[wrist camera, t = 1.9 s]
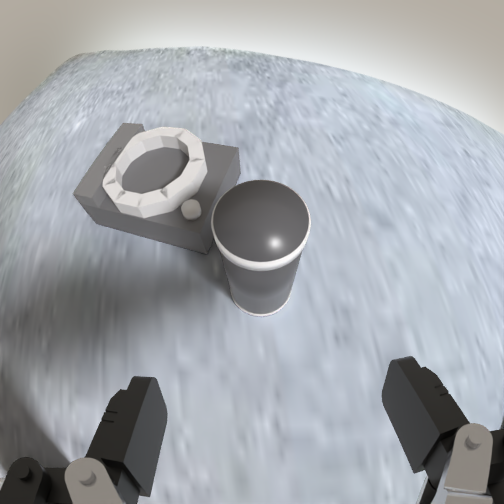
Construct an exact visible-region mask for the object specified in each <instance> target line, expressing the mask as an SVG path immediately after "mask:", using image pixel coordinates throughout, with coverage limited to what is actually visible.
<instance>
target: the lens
mask: <svg viewBox="0 0 504 504" xmlns="http://www.w3.org/2000/svg"><path fill="white" fill-rule="evenodd" d="M211 225H212V231H213V235H214V238H215V242H216V244H217V246H218V248H219V250H220V253H221V257H222V260H223V264H224V268H225V271H226V275H227V279H228V282H229V286H230V292H231V295H232V298H233V301H234V302H235V304H236V305H237V306H238V308H240V309H241V310H242V311H243V312H245V313H247V314H249V315H252V316H256V317H265V316H270V315H273V314H275V313H277V312H278V311H280V310H281V309H282V308H283V307H284V306H285V305H286V303H287V302H288V300H289V297H290V294H291V290H292V285H293V282H294V278H295V275H296V271H297V268H298V264H299V260H300V257H301V253H302V250H303V249H304V247H305V245H306V242H307V239H308V235H309V232H310V226H311V218H310V213H309V210H308V207H307V205H306V203H305V202H304V200H303V199H302V198H301V196H300V195H299V194H298V193H296V192H295V191H294V190H293V189H291V188H290V187H288V186H286V185H284V184H281V183H278V182H275V181H270V180H252V181H247V182H244V183H241V184H238V185H236V186H234V187H232V188H231V189H229V190H228V191H227V192H226V193H224V194H223V195H222V196H221V198H220V199H219V200H218V202H217V203H216V205H215V207H214V210H213V213H212V218H211Z"/></svg>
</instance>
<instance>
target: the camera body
mask: <svg viewBox="0 0 504 504" xmlns="http://www.w3.org/2000/svg"><path fill="white" fill-rule="evenodd" d="M240 174H241V172H240V160H239V148H237V147H231V146H225V145H219V144H213V143H206V142H202V141H201V140H200V139H199V138H197V137H196V136H195V135H193V134H192V133H191V132H189V131H188V130H186V129H182V128H172V127H159V128H156V129H152V130H148V131H145V130H144V127H143V125H142V124H132V123H123V124H122V125H121V126H120V128H119V129H118V130H117V131H116V133H115V134H114V135H113V136H112V138H111V139H110V140H109V142H108V143H107V144H106V146H105V147H104V148H103V150H102V151H101V153H100V154H99V155H98V157H97V158H96V160H95V161H94V162H93V164H92V165H91V167H90V168H89V170H88V171H87V173H86V174H85V176H84V177H83V179H82V180H81V182H80V183H79V185H78V186H77V188H76V189H75V191H74V193H73V195H74V196H75V197H76V199H77V200H78V201H79V203H80V204H81V205H82V206H83V208H84V209H85V210H86V212H87V213H88V214H89V215H90V217H91V218H92V219H93V220H94V221H95V223H96V224H99V225H103V226H106V227H110V228H113V229H117V230H120V231H124V232H127V233H131V234H135V235H138V236H142V237H145V238H149V239H153V240H156V241H160V242H163V243H167V244H171V245H174V246H178V247H182V248H185V249H189V250H193V251H196V252H200V253H204V254H208V251H209V249H210V246H211V244H212V241H213V239H214V235H213V231H212V225H211V218H212V213H213V210H214V207H215V205H216V203H217V202H218V200H219V199H220V198H221V196H222V195H223V194H224V193H226V192H227V191H228V190H229V189H231V188H232V187H234V186H235V185H236V183H237V181H238V178H239V176H240Z"/></svg>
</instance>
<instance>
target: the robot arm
mask: <svg viewBox="0 0 504 504" xmlns="http://www.w3.org/2000/svg"><path fill="white" fill-rule="evenodd" d="M382 402H383V406H384V408H385V410H386V412H387V414H388V416H389V419H390V421H391V423H392V425H393V427H394V429H395V432H396V434H397V436H398V438H399V441H400V443H401V445H402V447H403V450H404V452H405V454H406V456H407V459H408V461H409V463H410V466H411V468H412V470H413V473H414V474H415V473H418V472H420V471H423V470H425V471H426V473H427V476H426V478H425V480H424V483H423V486H422V488H421V491H420V494H419V496H418V499H417V502H416V504H504V429H501V430H495V431H489V430H488V429H487V428H486V427H484V426H483V425H480V424H476V423H471V424H470V423H469V421H468V420H467V418H466V417H465V415H464V414H463V412H462V411H461V409H460V408H459V406H458V405H457V403H456V402H455V400H454V399H453V398H452V396H451V395H450V394H448V390H447V389H446V388H445V386H443V383H442V382H441V380H440V379H439V378H438V376H437V375H436V374H435V373H433V372H432V371H431V370H429V369H428V368H426V367H422V368H421V367H420V365H419V364H418V363H417V361H416V360H415V358H414V357H412V356H409V357H404V358H399V359H395V360H392V361H391V362H390V364H389V368H388V372H387V375H386V379H385V383H384V386H383V390H382ZM166 424H167V408H166V405H165V402H164V399H163V396H162V393H161V390H160V387H159V384H158V381H157V379H156V378H155V377H139V376H134V377H133V378H132V379H131V382H130V384H129V386H128V389H127V390H121V389H120V390H119V391H118V392H117V393H116V394H115V395H114V396H113V397H112V398H111V399H110V401H109V403H108V406H107V408H106V412H104V415H103V417H102V421H101V422H100V424H99V426H98V428H97V431H96V433H95V435H94V438H93V440H92V442H91V445H90V447H89V449H88V452H87V454H86V456H85V457H84V458H80V459H77V460H75V461H73V462H72V463H71V464H70V465H69V466H68V467H67V468H43V467H42V466H41V465H40V464H39V463H38V462H37V461H36V460H35V459H32V458H29V457H24V458H20V459H18V460H16V461H15V462H14V463H13V464H12V465H11V467H10V469H9V471H8V473H7V476H6V478H5V480H4V483H3V485H2V487H1V490H0V504H137V502H138V498H139V495H140V496H146V497H150V495H151V490H152V485H153V481H154V476H155V472H156V467H157V463H158V458H159V454H160V449H161V445H162V441H163V437H164V432H165V428H166Z"/></svg>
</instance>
